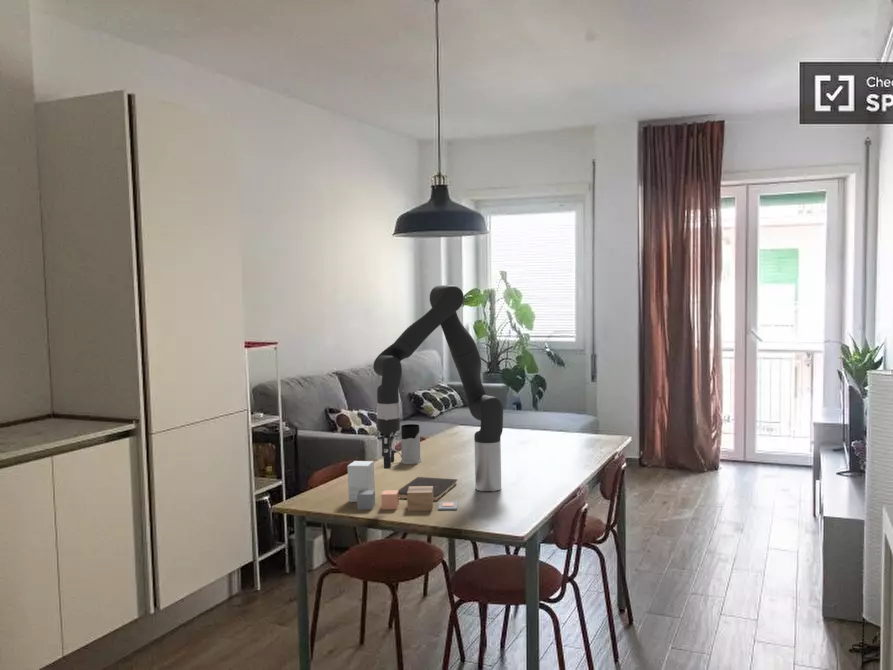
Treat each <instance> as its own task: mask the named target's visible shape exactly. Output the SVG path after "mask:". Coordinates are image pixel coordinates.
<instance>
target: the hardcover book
mask: <svg viewBox="0 0 893 670" xmlns="http://www.w3.org/2000/svg"><path fill="white" fill-rule="evenodd" d="M457 481H458V479H455V478H442V477H441V478H440V477H425V476H424V477H423V476H417V477H415V478H414V479H413V480H411V481H410V482H409V483H407V484H405V485H404V486H402V487H401V488H400V489H398V490H399V497H400V498H399V499H404V498H407V492H408V489H409V486H433V499H434V500H437V499H438V498H439V497H440V498H441V496H442V495H443V494H444V493H445V492H446V491H447V492H449V491H450V490H451V489H452V488H453V487H455V486H456V485H457ZM455 484H456V485H455ZM454 485H455V486H454ZM452 486H453V487H452ZM451 487H452V488H451ZM450 488H451V489H450ZM449 489H450V490H449ZM448 490H449V491H448ZM447 492H446V493H447ZM446 493H445V494H446ZM445 494H444V495H445ZM444 495H443V496H444ZM440 498H439V499H440ZM439 499H438V500H439ZM438 500H437V501H438Z"/></svg>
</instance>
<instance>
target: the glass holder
mask: <svg viewBox="0 0 893 670" xmlns="http://www.w3.org/2000/svg"><path fill="white" fill-rule="evenodd" d="M400 430H401V432H400V433H401V437H400V438H399V434H398V431H397V432H395V435H396V439H398V440H400V443H401V446H400V447H401V448H400V449H401V453H400V452H399V451H398V450H397V449H395V451H394V452H396V453H398V454H399V455H400V459H401V460H400V464H401V463H402V464H406V465H407V464H408V465H416V464H420V463H422V461H423V460H422V458H421V437H420V436H421V431H420V424H415V423H410V424H409V423H408V424H403V425H401V426H400Z"/></svg>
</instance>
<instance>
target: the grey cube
mask: <svg viewBox="0 0 893 670" xmlns="http://www.w3.org/2000/svg"><path fill="white" fill-rule="evenodd" d="M356 503H357V510H374V508H375V506H374V505H376V489H375V490H360V491H359V492H358V494H357V502H356ZM373 507H374V508H373Z"/></svg>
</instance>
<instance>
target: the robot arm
mask: <svg viewBox="0 0 893 670" xmlns="http://www.w3.org/2000/svg"><path fill="white" fill-rule="evenodd" d="M464 298H465V296H464V293H463V291H462V289H461V288H460V287H458V286H456V285H453V284H451V285H450V284H446V285H445V284H444V285H436V286H434V287H433V288H432V289H431V291H430V293H429V304H430V307H431V308H430V310H428V311H427V312H426V313H425V314H424V315H423V316H421V317H420V318H418V319H417V320H416V321H414V322H413V323H412V324H410V325H409V326H408V327H407V328H406V329H405V330H404V331H403V332H402V333H401V334H400V335H399V336H398V337H397V339H396V340H395V341H394V342H393V343H391V345H389V346H387V348H385V349H384V350H382V351H381V353H379V354H378V355H377V357H376V358H375V359H374V361H373V366H372V367H373V371H374V372H375V373H376V375H378V376H380V377H381V383H380V385H378V387H377V389H376V390H377V391H376V399H377V400H376V401H377V403H376V430H377V432H379V433H383V436H382V437H381V456H382V457H383V469H385V470H389V469H391V468H392V464H393V463H394V462H395V452H396V451H395V450H396V447H397V445H396V432H397V433H398V432H399V431H400V430H401V426H400V425H401V418H400V417H401V415H400V414H401V413H400V410H401V409H400V403H399V402H400V400H399V397H400V393H399V388H400V385H401V381H402V380H401V379H402V373H403V372H402V371H403V366H402V362H401V361H402V360H404V359H408V358H410V357H411V356H412V355H413V354H414V353H415V352H416V351H417V349H418V348H419V347H420V346H421V345H422V343H424V342H425V340H426V339H427V338H428V337H429V336H430V335H431V334H432V333H433V332H434V331H435V330H436V329H437V328H438V327H441V329H442V332H443V335H444V337H445V338H444V339H445V340H446V343H447V346H448V348H449V352H450V354H451V357H452V361H453V363H454V366H455V368H456V369H457V372H458V375H459V379H460V381H461V384H462V387H463V390H464V393H465V397H466V401H467V406H468V409H469V412H470V414H471V416H472V417H473V418H474V419H475V420H478V421H480V428H479V430H478V431H475V433H474V435H473V437H474V439H473V440H474V443H473V444H474V480H475V481H474V482H475V484H474V485H475V486H474V487H475V488H476V489H477V490H476V489H475V490H476V491H478V490H480V492H484V491H492V492H497V490H498V491H500V490H502V456H501V455H502V450H501V447H502V445H501V437H502V434H503V431H504V430H503V429H504V428H503V426H504V408H503V404H502V401H501V400H500V399H499V398H498V397H496V396H492V395H487V393H486V391H485V388H484V386H483V383H482V382H483V381H482V377H481V370H482V358H481V355H480V351H479V349H478V346H477V344H476V342H475V340H474V338H473V337H472V335H471V334H470V333H469V332H468V330H467V328H466V327H465V326H464V325H463V323H462V322H461V320H460V318H459V316H458V314H457V313H458V312H457V311H458V310H460V308H461V307H462V305H463V303H464V301H465V299H464Z"/></svg>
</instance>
